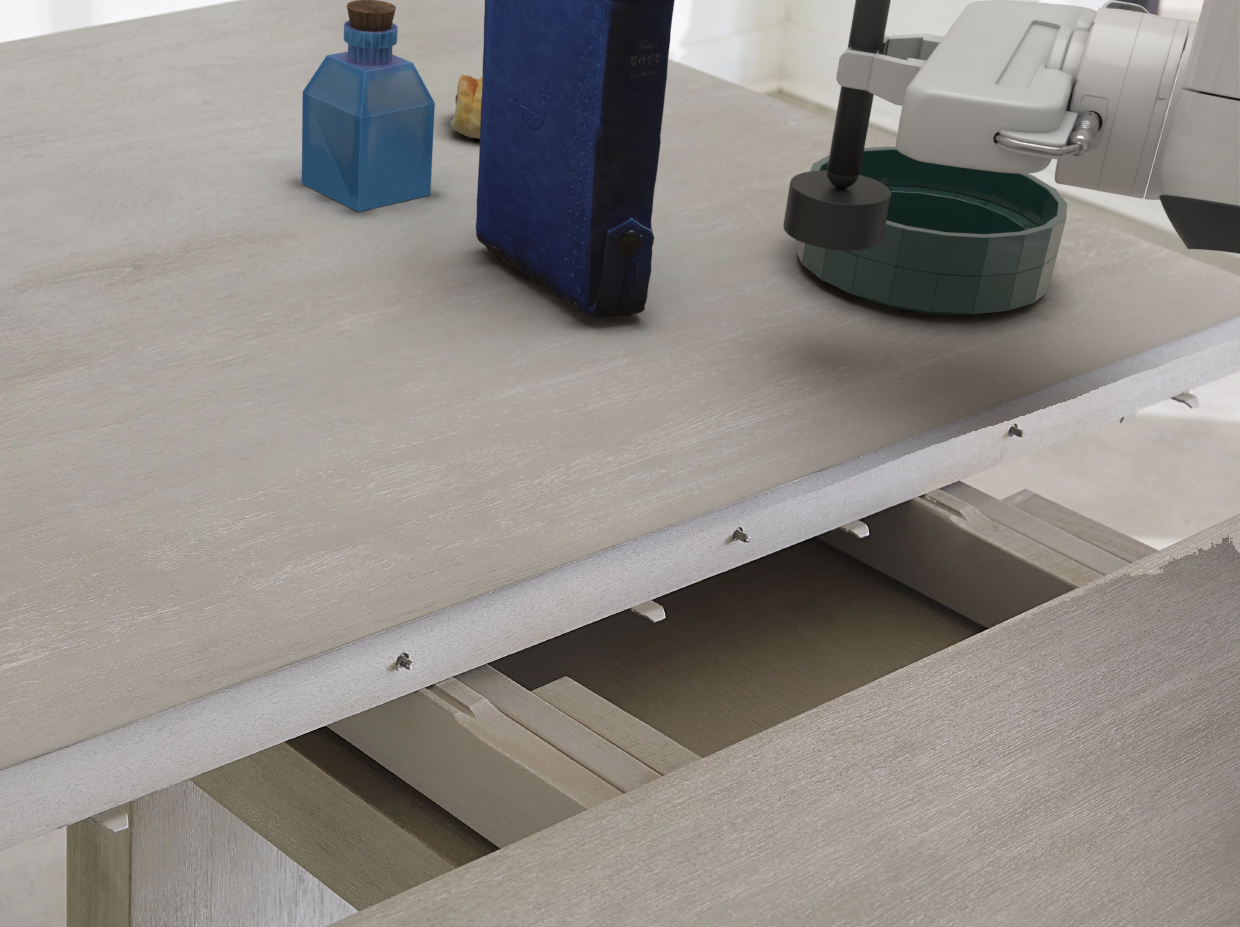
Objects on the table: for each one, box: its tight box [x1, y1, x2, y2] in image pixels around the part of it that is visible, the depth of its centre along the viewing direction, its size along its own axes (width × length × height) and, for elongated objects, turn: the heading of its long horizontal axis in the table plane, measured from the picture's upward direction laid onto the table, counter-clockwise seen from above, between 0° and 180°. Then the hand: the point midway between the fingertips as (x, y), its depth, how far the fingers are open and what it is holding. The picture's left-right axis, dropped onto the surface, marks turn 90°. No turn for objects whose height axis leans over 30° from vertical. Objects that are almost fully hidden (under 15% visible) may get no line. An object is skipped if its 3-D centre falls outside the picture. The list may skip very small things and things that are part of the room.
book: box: [475, 0, 676, 319], centre depth 111 cm, size 14×5×20 cm, turn 32°
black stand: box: [782, 0, 891, 251], centre depth 102 cm, size 6×6×17 cm
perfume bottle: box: [301, 0, 436, 213], centre depth 125 cm, size 6×6×12 cm
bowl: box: [795, 146, 1069, 316], centre depth 121 cm, size 16×16×6 cm
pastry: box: [450, 74, 483, 140], centre depth 139 cm, size 9×7×4 cm
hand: (846, 57), depth 102 cm, fingers closed on black stand
